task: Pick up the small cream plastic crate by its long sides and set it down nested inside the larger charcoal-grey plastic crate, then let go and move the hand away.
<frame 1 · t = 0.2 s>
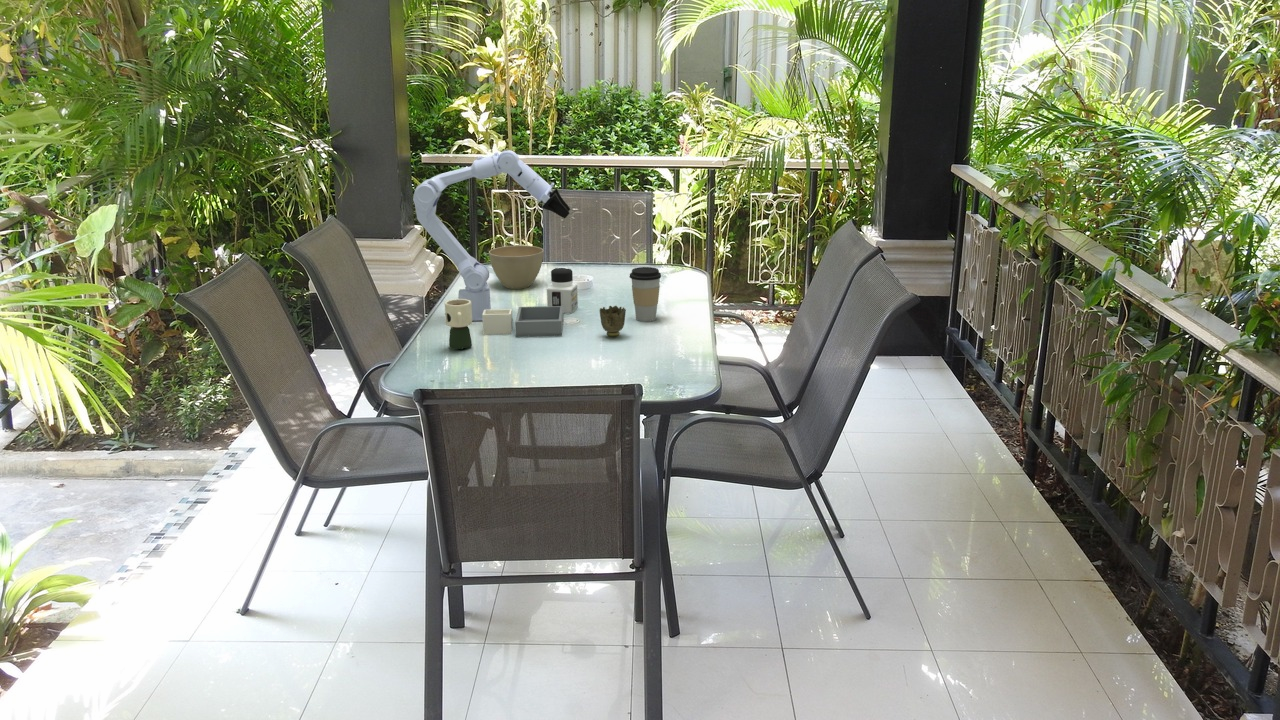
hand: (567, 213, 312), 31 cm above the table, tool tilted 45°, fingers open, 7 cm apart
flower pot: (517, 286, 359), on the table
character mug: (460, 348, 294), on the table
cup: (613, 336, 303), on the table
grey crate: (540, 328, 310), on the table
coffee cup: (645, 319, 319), on the table
container: (562, 310, 330), on the table
cream crate: (498, 331, 308), on the table
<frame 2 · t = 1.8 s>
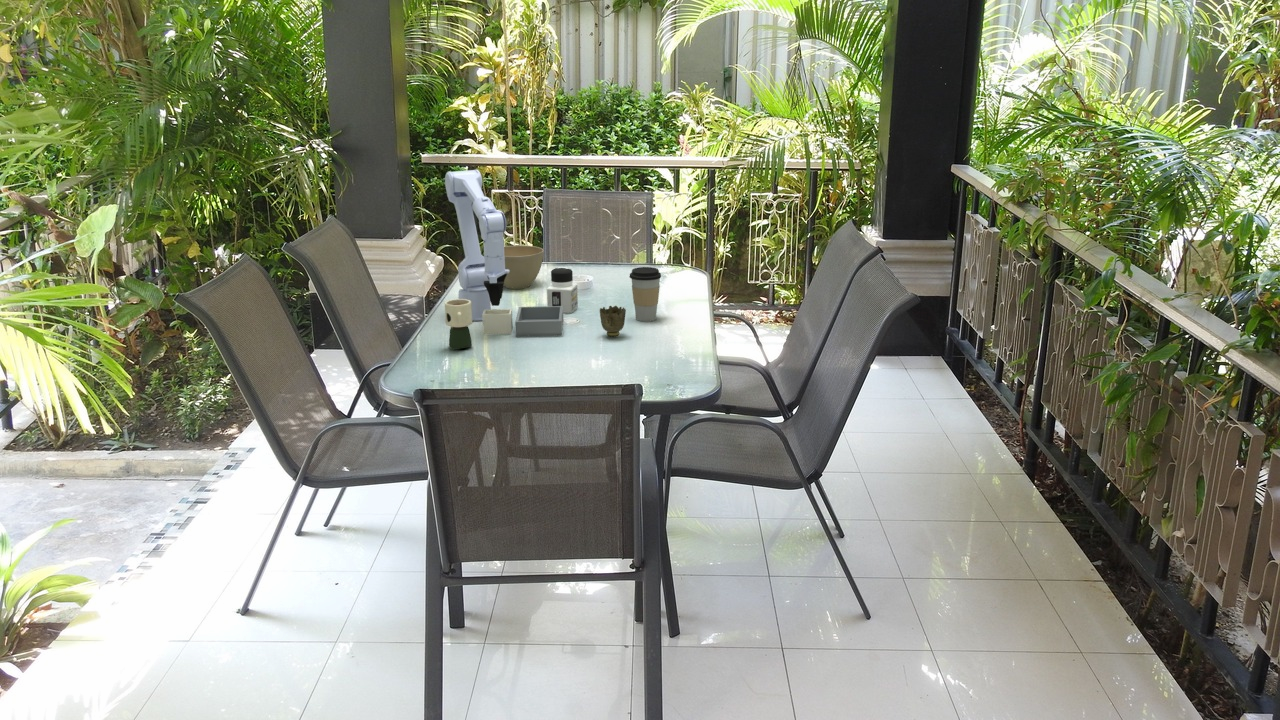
hand: (496, 301, 305), 9 cm above the table, tool pointing down, fingers open, 7 cm apart
nothing on the table moved.
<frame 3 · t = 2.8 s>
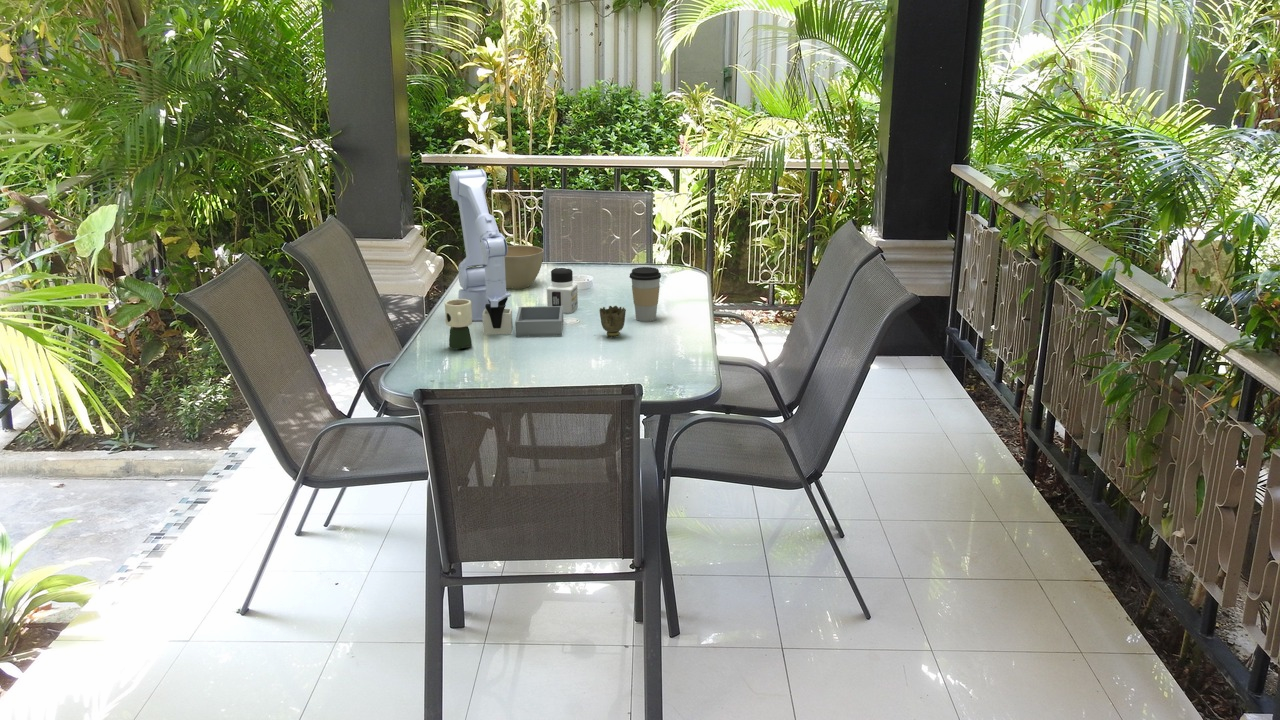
hand: (497, 325, 308), 2 cm above the table, tool pointing down, fingers closed on cream crate, 5 cm apart
cream crate: (498, 331, 308), on the table, touching gripper
everything else where it was.
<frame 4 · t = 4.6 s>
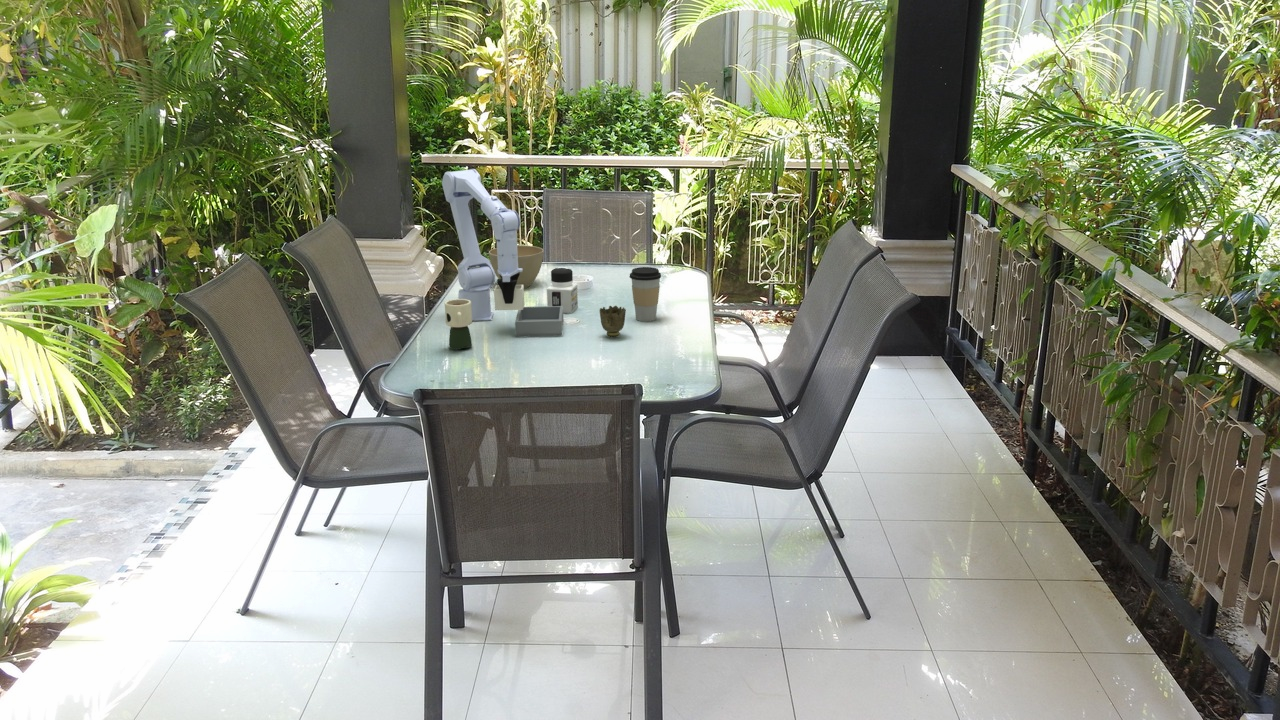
hand: (509, 300, 306), 9 cm above the table, tool pointing down, fingers closed on cream crate, 5 cm apart
cream crate: (509, 307, 307), point 7 cm above the table, touching gripper
everything else where it was.
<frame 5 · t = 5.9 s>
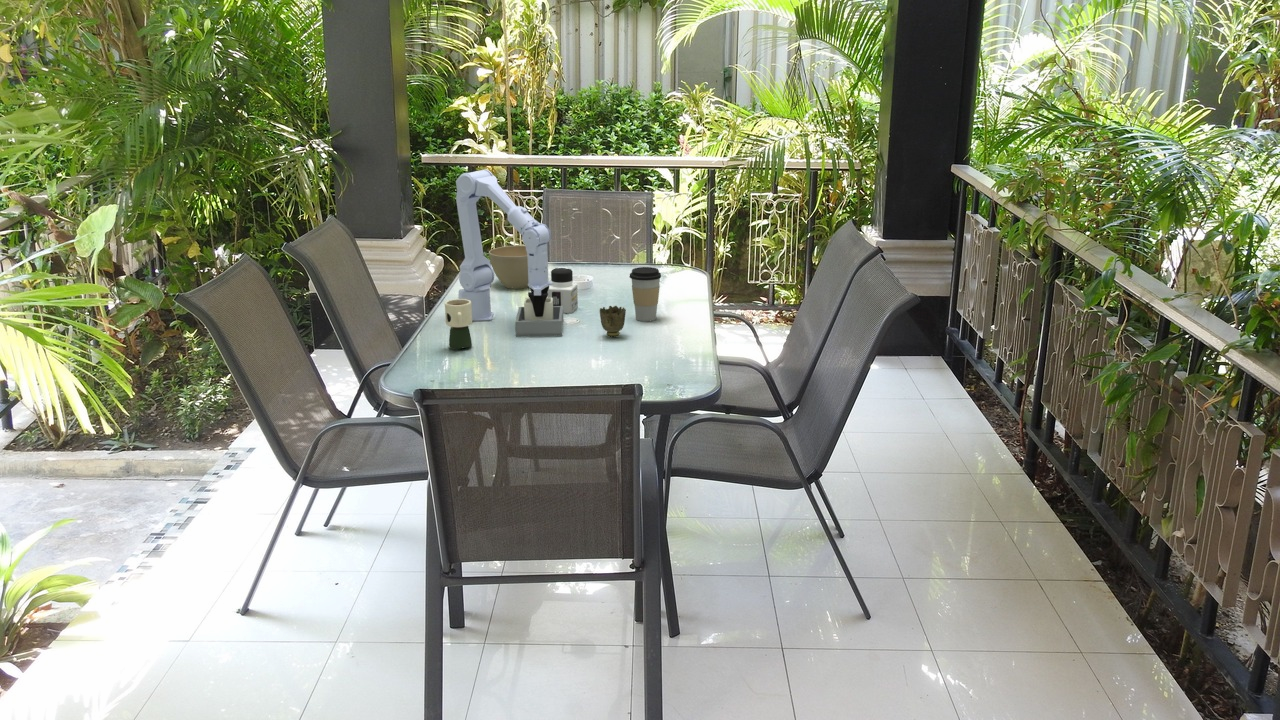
hand: (539, 313, 309), 5 cm above the table, tool pointing down, fingers closed on cream crate, 5 cm apart
cream crate: (539, 320, 310), point 2 cm above the table, touching gripper
everything else where it was.
when the fingers open (4 cm above the table, at t = 6.5 s): cream crate drops 1 cm, resting on grey crate.
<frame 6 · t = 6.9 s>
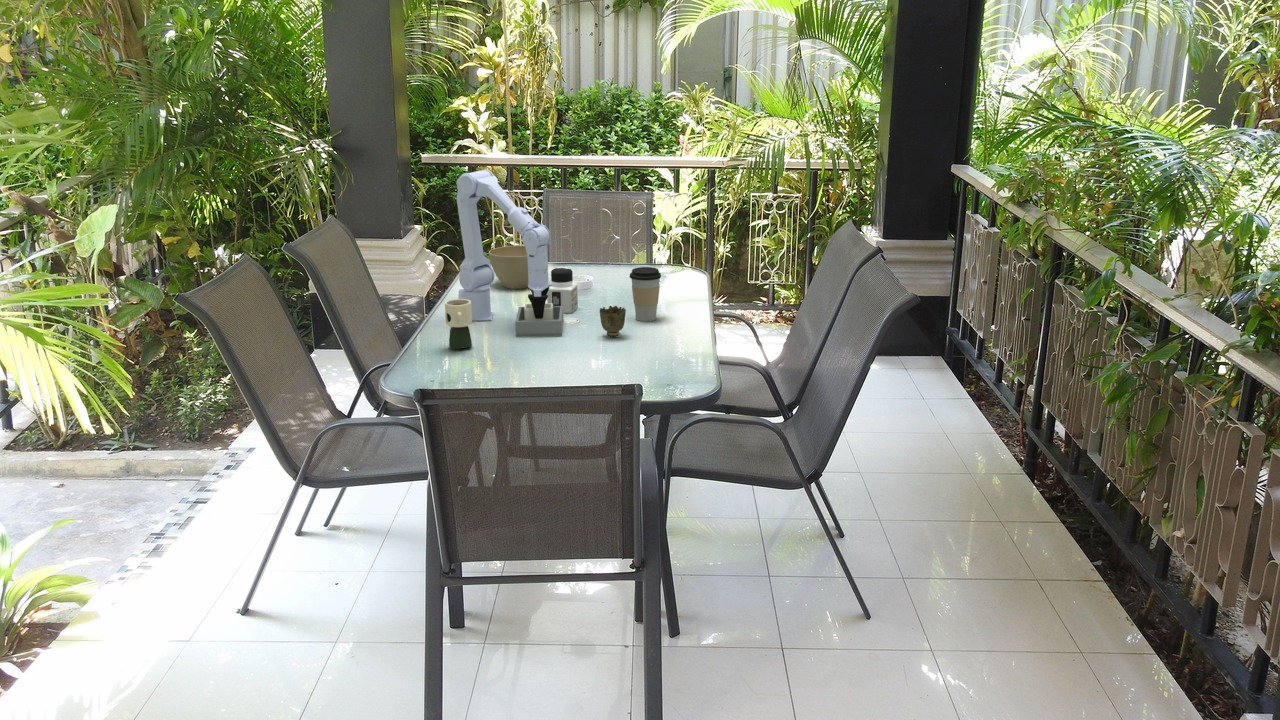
hand: (539, 314, 309), 4 cm above the table, tool pointing down, fingers open, 7 cm apart
cream crate: (539, 326, 310), point 1 cm above the table, touching grey crate
everything else where it was.
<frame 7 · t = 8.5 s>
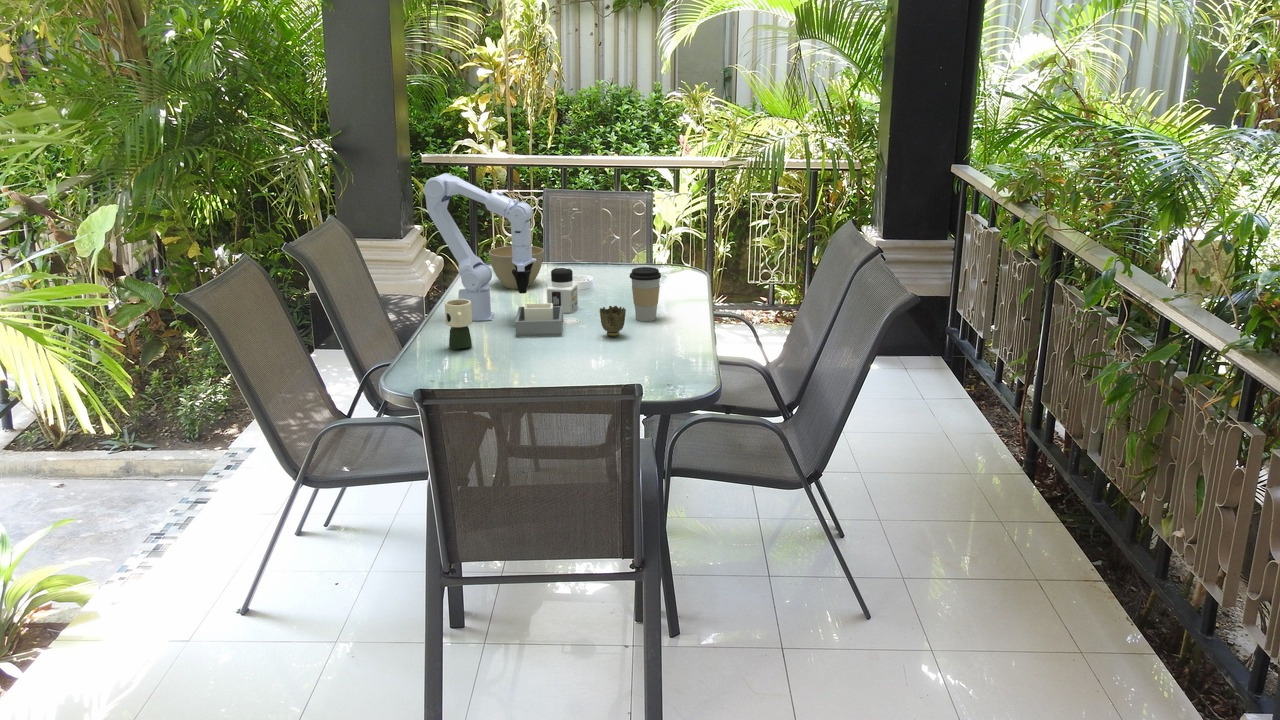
hand: (523, 289, 316), 9 cm above the table, tool pointing down, fingers open, 7 cm apart
nothing on the table moved.
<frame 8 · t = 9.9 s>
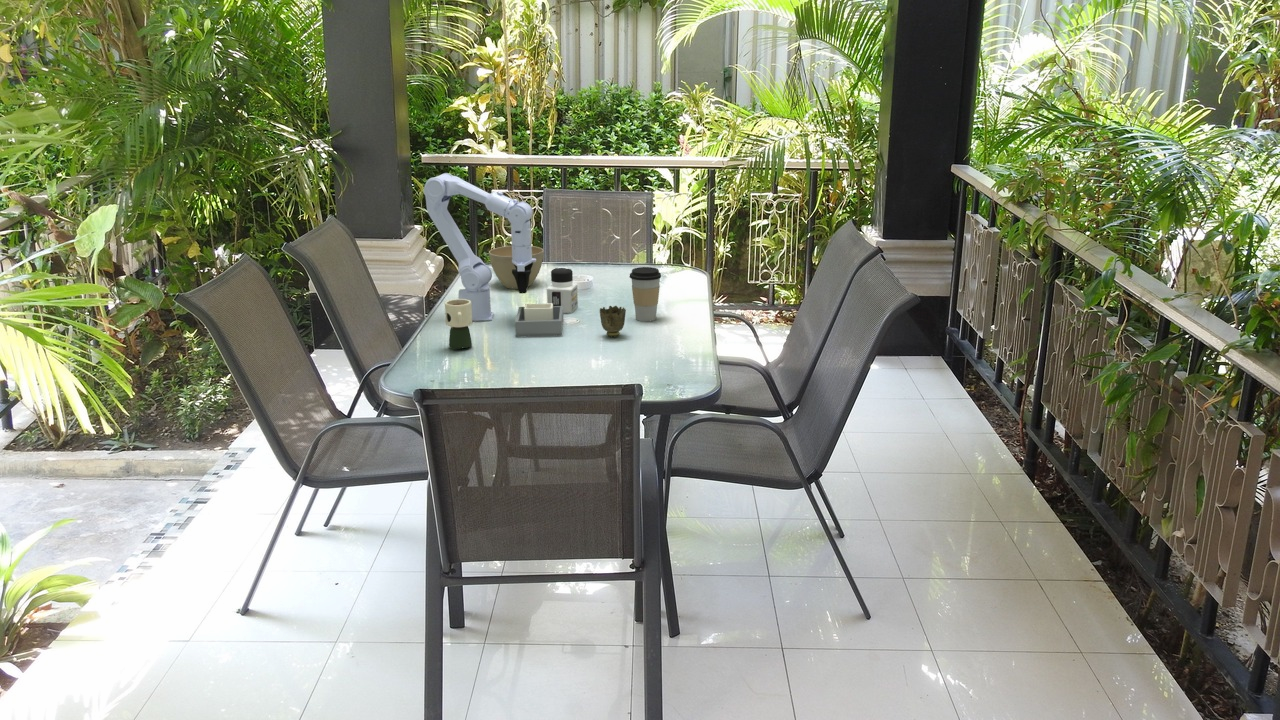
hand: (523, 289, 316), 9 cm above the table, tool pointing down, fingers open, 7 cm apart
nothing on the table moved.
at the end: cream crate 0.2 cm off-centre on the grey crate, point 0.8 cm above the grey crate's base; cream crate tilted 0°; the gripper is holding nothing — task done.
